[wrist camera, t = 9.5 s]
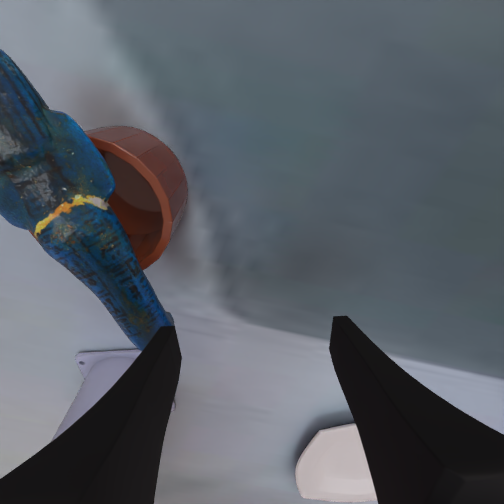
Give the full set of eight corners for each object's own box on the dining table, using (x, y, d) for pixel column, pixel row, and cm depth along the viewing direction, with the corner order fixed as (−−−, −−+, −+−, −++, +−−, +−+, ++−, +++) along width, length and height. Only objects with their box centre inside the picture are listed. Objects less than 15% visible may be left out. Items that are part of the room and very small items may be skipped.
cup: (194, 234, 22) (182, 273, 17) (92, 239, 22) (50, 280, 17) (178, 123, 18) (155, 131, 13) (54, 128, 18) (-15, 139, 13)
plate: (463, 404, 33) (475, 421, 32) (411, 484, 43) (419, 500, 41) (302, 406, 32) (306, 424, 31) (285, 487, 41) (287, 504, 40)
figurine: (194, 303, 19) (46, 46, 12) (203, 337, 15) (8, 7, 9) (126, 339, 18) (-68, 84, 12) (120, 382, 15) (-157, 57, 8)
